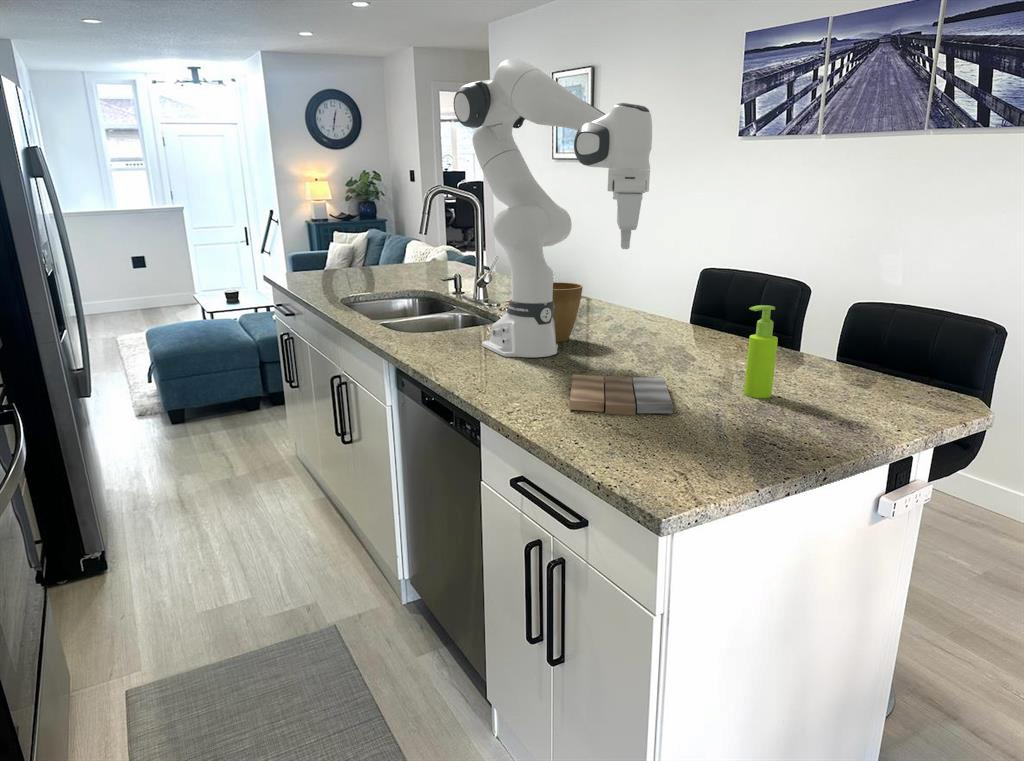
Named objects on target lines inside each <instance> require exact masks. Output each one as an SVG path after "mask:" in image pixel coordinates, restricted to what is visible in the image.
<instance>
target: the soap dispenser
mask: <svg viewBox="0 0 1024 761" xmlns="http://www.w3.org/2000/svg"><path fill="white" fill-rule="evenodd" d="M748 309H749V310H751V311H754V312H758V311H762V312H761V313H762V314H761V318H759V320H757V322H756V330H755V334H751V335H749V339H748V348H747V349H748V350H747V357H746V369H745V377H744V385H743V386H744V387H743V395H745V396H746V397H750V398H753V399H755V398H756V399H768V398H771V397H772V394H773V393H772V392H773V385H774V384H773V383H774V375H775V367H776V360H777V359H776V358H777V350H778V341H779V340H778V339H779V338H778V337H777V336H774V335H773V330H774V321H773V320H772V319H771V311H773V310H774V311H775V310H776V306H773V305H768V304H767V305H764V304H760V305H758V304H757V305H754V306H751V307H749V308H748Z"/></svg>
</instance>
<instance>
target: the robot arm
mask: <svg viewBox="0 0 1024 761" xmlns="http://www.w3.org/2000/svg"><path fill="white" fill-rule="evenodd" d="M453 110H454V114H455V117H456V119H457V120H458V122H459V124H461V125H462V126H463V127H466V128H471V129H475V130H474V133H473V135H472V146H473V149H474V153H475V156H476V159H477V161H478V163H479V166H480V169H481V171H482V172H483V174H484V177H485V178H486V181H487V183H488V185H489V187H490V189H491V192H492V194H493V195H494V196H495V198H496V200H498V201H500V202H501V203H502V204H504V205H505V206H507V208H505V209H503V210H501V211H499V212H498V213H497V214H496V216H495V218H494V221H493V225H492V229H493V230H492V231H493V236H494V238H495V241H497V243H498V244H499V245H500V246H501V247H502V248H503V250H504V253H505V254H506V257H507V259H508V262H509V263H508V264H509V268H510V274H511V275H510V276H511V278H510V280H511V296H510V297H511V299H510V300H507V301H505V304H504V306H507V310H506V313H505V314H504V315H503V316H502V317H500V318H499V319H498V320H497V321H495V322H494V323H493V324H492V326H491V328H490V336H489V337H490V339H486V340H484V341H482V343H481V347H484V348H485V349H488V350H490V351H492V352H494V353H496V354H498V355H500V356H502V357H506V358H507V357H509V358H511V357H512V358H513V357H515V358H516V357H519V358H544V357H551V356H554V355H556V354H557V353H558V349H559V345H558V343H557V342H556V336H555V322H554V319H553V314H554V308H555V306H554V301H553V282H554V271H553V269H552V267H550V266H549V265H548V263H547V262H546V258H545V255H544V250H543V248H545V247H552V246H555V245H558V244H561V242H563V241H565V240H566V239H567V238H568V237H569V236H570V234H571V231H572V225H573V224H572V219H571V215H570V214H569V213H568V211H567V210H566V209H565V208H564V207H561V206H560V205H558V204H557V203H556V202H555V201H554V200H553V199H552V198H551V197H550V196H549V195H548V193H547V192H546V191H545V190H544V189H543V187H542V186H541V185H540V184H539V182H538V181H537V180H536V179H535V177H534V175H533V174H532V172H531V170H530V169H529V167H528V165H527V163H526V161H525V158H524V157H523V154H522V152H521V151H520V149H519V146H518V145H517V143H516V141H515V138H514V135H513V129H520V128H521V127H523V124H524V122H525V120H526V121H529V122H531V123H533V124H536V125H541V126H547V127H549V126H550V127H558V128H559V127H560V128H566V129H571V130H574V131H576V133H575V137H574V140H573V150H574V155H575V158H576V159H577V160H578V162H579V163H580V164H582V165H583V166H586V167H590V168H603V169H605V168H606V169H607V168H608V170H607V171H608V172H607V173H608V174H607V192H612V195H613V196H612V199H613V200H616V203H617V204H616V205H617V206H616V207H617V210H616V212H617V213H616V223H617V226H618V229H619V230H620V247H621V249H622V250H629V249H630V248H631V247H630V245H631V238H632V231H636V230H637V228H638V226H639V225H638V224H639V219H640V214H641V213H640V212H641V209H642V208H641V207H642V202H643V201H642V200H643V198H644V196H643V195H644V194H645V193H648V192H650V177H651V165H650V164H651V163H650V154H651V151H652V147H653V146H652V145H653V120H652V115H651V114H652V113H651V111H650V109H649V108H648V107H646V106H645V105H640V104H634V103H633V104H632V103H628V102H620V103H616V104H614V105H613V107H612V108H611V109H610V111H609V112H607V113H605V112H603V111H601V109H598V108H596V107H595V106H593V105H591V104H590V103H588V102H587V101H584V100H583V99H581V98H580V97H579V96H577V95H576V94H574V93H573V92H571V91H570V90H569V89H567V88H566V87H565V86H563V85H561V84H560V83H559V82H557V81H556V80H555V79H554V78H552V77H551V76H549V75H548V74H547V73H546V72H544V71H542V70H541V69H539V68H538V67H537V66H535V65H532V64H530V63H529V62H526V61H524V60H521V59H518V58H508V59H505V60H503V61H502V62H501V63H500V64H499V65H498V66H497V67H496V69H495V71H494V74H493V78H490V79H486V80H478V81H473V82H469V83H467V84H464V85H462V86H461V87H459V88H458V89H457V90H456V92H455V95H454V96H453Z"/></svg>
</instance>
